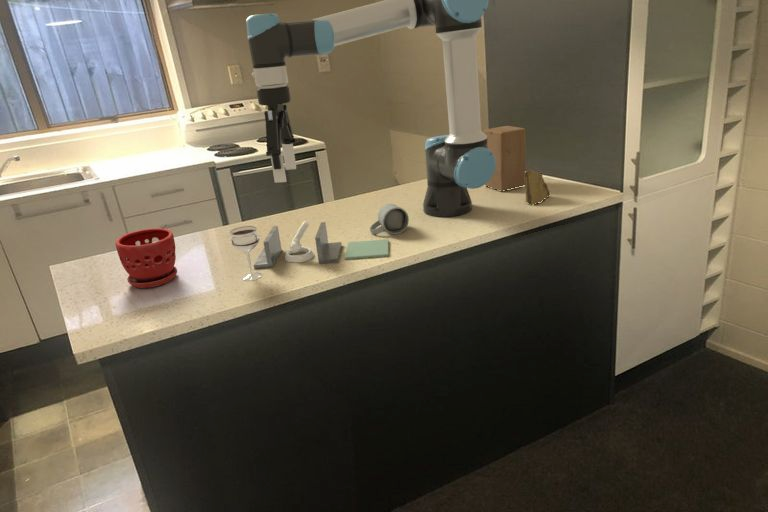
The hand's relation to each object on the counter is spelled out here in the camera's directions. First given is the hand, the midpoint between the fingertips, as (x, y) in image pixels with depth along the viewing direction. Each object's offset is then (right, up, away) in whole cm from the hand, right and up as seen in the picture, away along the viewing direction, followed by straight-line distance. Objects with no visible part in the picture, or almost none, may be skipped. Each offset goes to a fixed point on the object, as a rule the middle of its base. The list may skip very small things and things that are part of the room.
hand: (286, 175), depth 133 cm
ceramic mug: (+26, -13, +21) cm, 36 cm away
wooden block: (+67, +4, +53) cm, 85 cm away
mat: (+20, -18, +8) cm, 28 cm away
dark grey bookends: (+2, -20, +8) cm, 22 cm away
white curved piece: (+2, -21, +8) cm, 22 cm away
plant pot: (-33, -26, +1) cm, 42 cm away
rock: (+73, -3, +35) cm, 81 cm away
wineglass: (-8, -25, -2) cm, 27 cm away
